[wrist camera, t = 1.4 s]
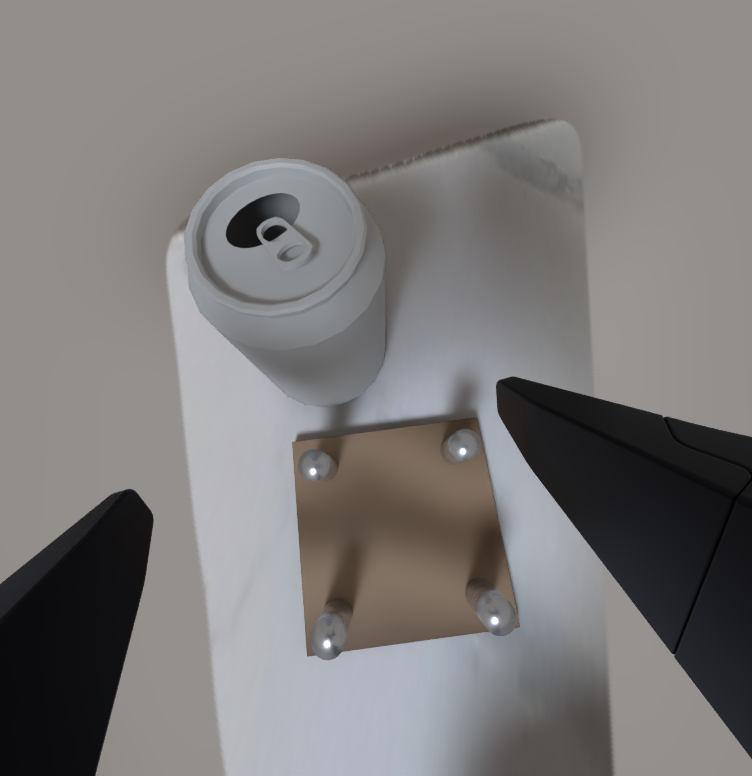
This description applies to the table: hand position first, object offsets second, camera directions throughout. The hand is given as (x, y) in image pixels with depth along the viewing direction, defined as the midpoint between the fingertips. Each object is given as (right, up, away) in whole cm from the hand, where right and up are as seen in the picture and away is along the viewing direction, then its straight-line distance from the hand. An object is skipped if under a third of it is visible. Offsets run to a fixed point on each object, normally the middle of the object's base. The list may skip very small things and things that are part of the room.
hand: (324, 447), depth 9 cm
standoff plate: (+2, -6, +12) cm, 14 cm away
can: (-2, +4, +15) cm, 16 cm away
